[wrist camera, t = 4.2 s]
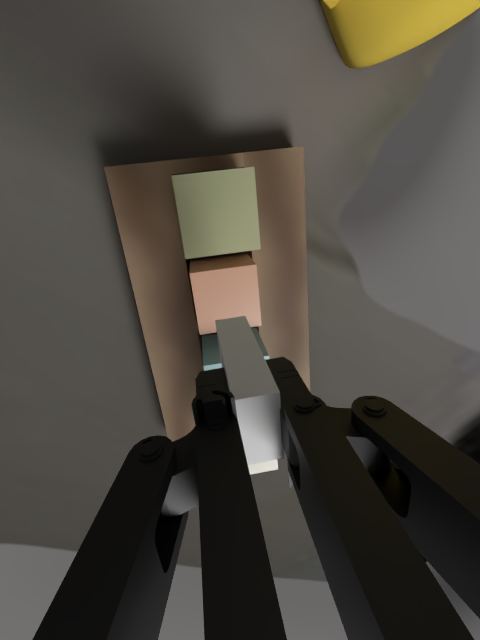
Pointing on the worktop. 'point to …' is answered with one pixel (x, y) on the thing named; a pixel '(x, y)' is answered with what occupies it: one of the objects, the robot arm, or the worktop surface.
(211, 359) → the key teal
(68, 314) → the worktop surface
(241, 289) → the key terracotta
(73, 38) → the worktop surface
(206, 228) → the key olive
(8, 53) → the worktop surface
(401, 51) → the teapot
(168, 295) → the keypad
